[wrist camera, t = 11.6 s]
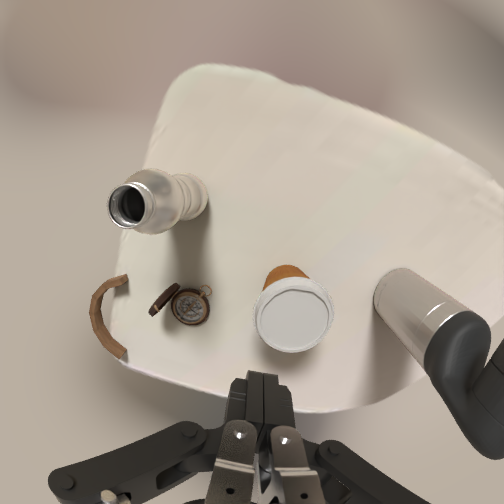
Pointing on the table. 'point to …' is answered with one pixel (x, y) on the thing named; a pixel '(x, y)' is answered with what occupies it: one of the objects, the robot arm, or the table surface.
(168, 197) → the plastic bottle
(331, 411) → the table surface
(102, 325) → the brown segmented arc
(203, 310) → the compass
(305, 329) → the disposable coffee cup
